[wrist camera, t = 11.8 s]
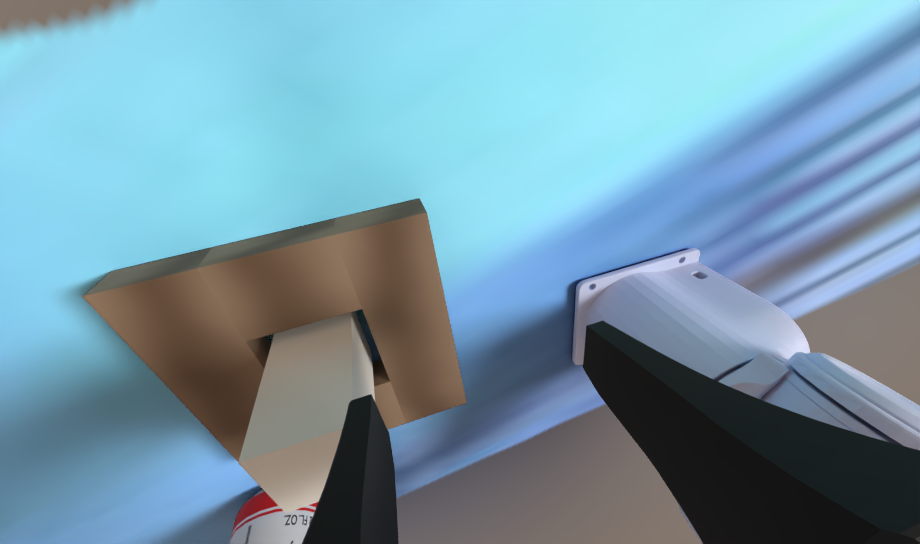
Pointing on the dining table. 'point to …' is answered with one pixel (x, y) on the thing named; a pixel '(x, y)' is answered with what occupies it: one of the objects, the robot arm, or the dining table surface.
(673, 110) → the dining table surface
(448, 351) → the slotted board
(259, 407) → the peg
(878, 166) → the dining table surface
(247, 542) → the beer can
